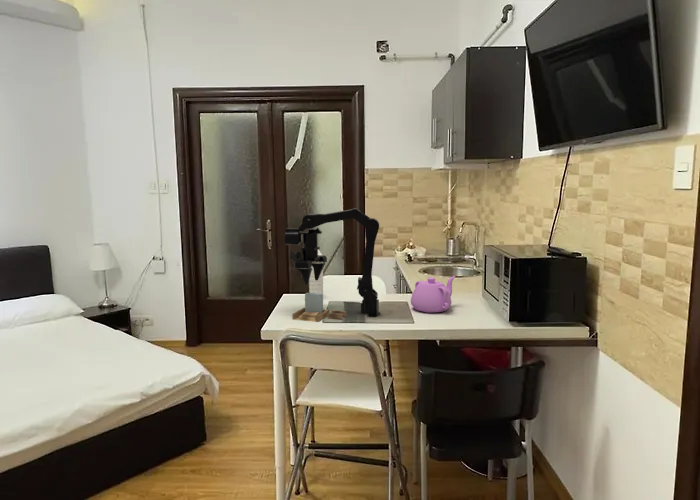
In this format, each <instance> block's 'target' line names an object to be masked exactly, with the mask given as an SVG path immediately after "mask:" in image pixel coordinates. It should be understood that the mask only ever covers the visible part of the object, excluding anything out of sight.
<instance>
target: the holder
mask: <svg viewBox="0 0 700 500" xmlns="http://www.w3.org/2000/svg"><path fill="white" fill-rule="evenodd" d="M347 316H348V314H347V311H345V310H335V309H334V310H332V309H331V312H329V313H328V316H327V320H336V321H337V320H338V321H343V320H344V318H347Z"/></svg>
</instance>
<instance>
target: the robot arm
mask: <svg viewBox="0 0 700 500" xmlns="http://www.w3.org/2000/svg"><path fill="white" fill-rule="evenodd" d="M351 219H352V220H355V221H356V222H358V223H359V224H360V225H362V226H363V227H364V231H365V232H364V233H365V235H364V236H365V249H364V259H363V269H362V275H361V277H360V276H359V277H357V278H358V279H357V287H356V290H357V291H358V295H359V296H360V297H362V299H361V300H362V301H361V303H360V313H361V314H365V315H366V317H375V318H376V317H377V316H378V315H380V314H381V312H380V310H379V309H380V305H379V303H380V301H379V300H380V299H378V297H379V293H378V292H377V290H375V289H374V285H373V275H372V274H373V264H374V256H375V255H374V254H375V253H374V252H375V243H376V239H377V235H378V233H379V229H380V223H379V221H378V219H376V218H374V217H369V216H368V215H367V214H366V213H363V212H362V211H361V210H360V209H358V207H357V208H356V207H354V208H352V209H347V210H340V211H333V212H329V213H308V214H305V215H304V216H303V218H302V221H301V222H302V223H301V224H300V225H299V227H298V228H290V227H286V228H285V233H284V245H286V246H294V245H296V246H300V244H301V243H303V246H302V247H301V248H300V249H301V251H298V252H297V251H295V250H294V251H291V252H290V253H289V259H290V260H291V261H292V262H293V264H294V265H293V266H294V269H296V271H297V270H298V271H299V272H300V273H301V274H300V275H301V276H302V279H303V281H304V282H303V283H304V284H305V285H309V282H310V281H309V279H310V275H311V271H312V268H311V267H312V266H313V268H314V276H315V280H318V279H319V276H320V274H321V272H322V269H323V270H324V267H325V265H326V263H327V262H328V258H327V256H326V255H323V254H322V255H318V249H319V250H320V249H321V248H320V247H321V246H319V244H318V243H319V242H318V240H319V239H318V235H321V234H322V233H323V231H322V230H321V229H320V228H319V226H322V225H324V224H327V223H333V222H341V221H345V220H351ZM316 227H317V228H316ZM313 228H316V229H313ZM307 229H308V230H307ZM306 230H307V231H306Z"/></svg>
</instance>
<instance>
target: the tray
mask: <svg viewBox="0 0 700 500" xmlns="http://www.w3.org/2000/svg"><path fill="white" fill-rule="evenodd" d="M304 312H305V307H303V308H301V309H300V310H297V311H295V312H294V313H292V320H294V321H303V322H312V323H313V322H314V323H319V322H321V321H323V320H324V319H326V318H328V313H330V310H329V309H326V308H325V309H324V308H323V313H321V314H319V315H317V316H316V320H305V319H299V316H301V314H303V313H304Z"/></svg>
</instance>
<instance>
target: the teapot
mask: <svg viewBox="0 0 700 500" xmlns="http://www.w3.org/2000/svg"><path fill="white" fill-rule="evenodd" d="M455 278H456V276H455V275H453V276H451V277H449V278H448V279H447V282H446V285H445V283H443V282H441V281H437V280H436V277H427V278H426V279H427V280H417V281H416V282H415V285H414V290H413V291H412V294H411V296H410V305H411V306H412V307H413V308H414V309H415V310H416V311H420V312H425V313H428V314H432V313H441V312H445V311H447V310H448V309H449V308H450V307H451V306H452V299H451V297H452V294H453V280H454V279H455Z"/></svg>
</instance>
